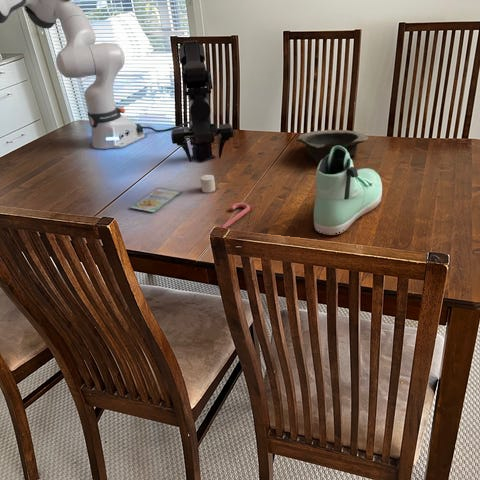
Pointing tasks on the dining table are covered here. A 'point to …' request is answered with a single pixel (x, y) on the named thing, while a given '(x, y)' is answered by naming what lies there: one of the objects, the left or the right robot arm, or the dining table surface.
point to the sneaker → (343, 192)
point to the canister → (207, 183)
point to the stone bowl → (331, 142)
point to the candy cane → (239, 215)
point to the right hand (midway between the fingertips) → (205, 159)
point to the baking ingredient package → (155, 200)
